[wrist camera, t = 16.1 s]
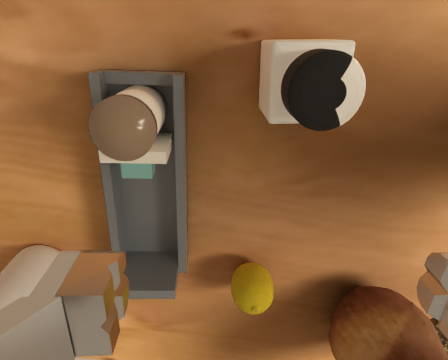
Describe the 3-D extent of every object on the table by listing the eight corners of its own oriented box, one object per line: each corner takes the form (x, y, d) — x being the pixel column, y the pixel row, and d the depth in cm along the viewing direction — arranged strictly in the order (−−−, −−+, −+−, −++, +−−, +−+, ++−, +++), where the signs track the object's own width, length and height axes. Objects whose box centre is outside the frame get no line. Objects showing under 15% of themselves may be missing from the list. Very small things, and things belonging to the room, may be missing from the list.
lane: (185, 71, 34) (178, 81, 27) (188, 254, 44) (183, 298, 37) (99, 69, 34) (69, 78, 26) (121, 254, 43) (104, 298, 36)
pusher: (173, 133, 35) (166, 152, 30) (173, 160, 37) (167, 183, 31) (116, 131, 35) (98, 150, 29) (119, 158, 36) (102, 182, 31)
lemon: (275, 261, 45) (288, 305, 38) (253, 287, 47) (260, 333, 40) (243, 244, 44) (250, 286, 36) (221, 271, 45) (223, 316, 38)
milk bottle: (3, 261, 43) (-147, 426, 25) (43, 233, 42) (-87, 387, 23) (47, 296, 46) (-59, 467, 28) (86, 270, 44) (0, 434, 26)
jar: (166, 82, 33) (152, 96, 25) (170, 132, 36) (157, 160, 27) (114, 82, 33) (82, 96, 25) (120, 133, 35) (93, 161, 27)
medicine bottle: (258, 108, 36) (279, 140, 25) (260, 39, 33) (285, 42, 22) (320, 107, 36) (368, 139, 25) (328, 38, 33) (386, 41, 22)
